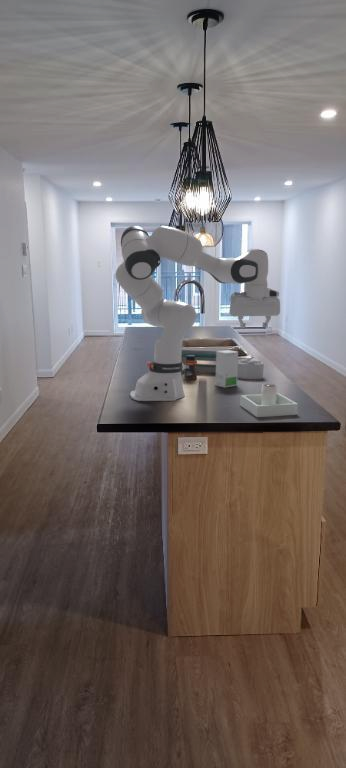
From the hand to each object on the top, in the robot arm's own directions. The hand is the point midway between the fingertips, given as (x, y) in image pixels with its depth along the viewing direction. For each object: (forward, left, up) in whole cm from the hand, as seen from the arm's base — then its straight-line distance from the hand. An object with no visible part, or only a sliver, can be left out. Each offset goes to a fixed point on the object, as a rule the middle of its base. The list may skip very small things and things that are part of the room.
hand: (254, 327), depth 210 cm
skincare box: (-2, +24, -29) cm, 38 cm away
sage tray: (0, -17, -29) cm, 34 cm away
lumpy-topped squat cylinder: (+15, +39, -29) cm, 51 cm away
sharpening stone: (-2, +57, -29) cm, 64 cm away
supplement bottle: (-14, +40, -29) cm, 52 cm away
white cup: (0, -17, -28) cm, 33 cm away
